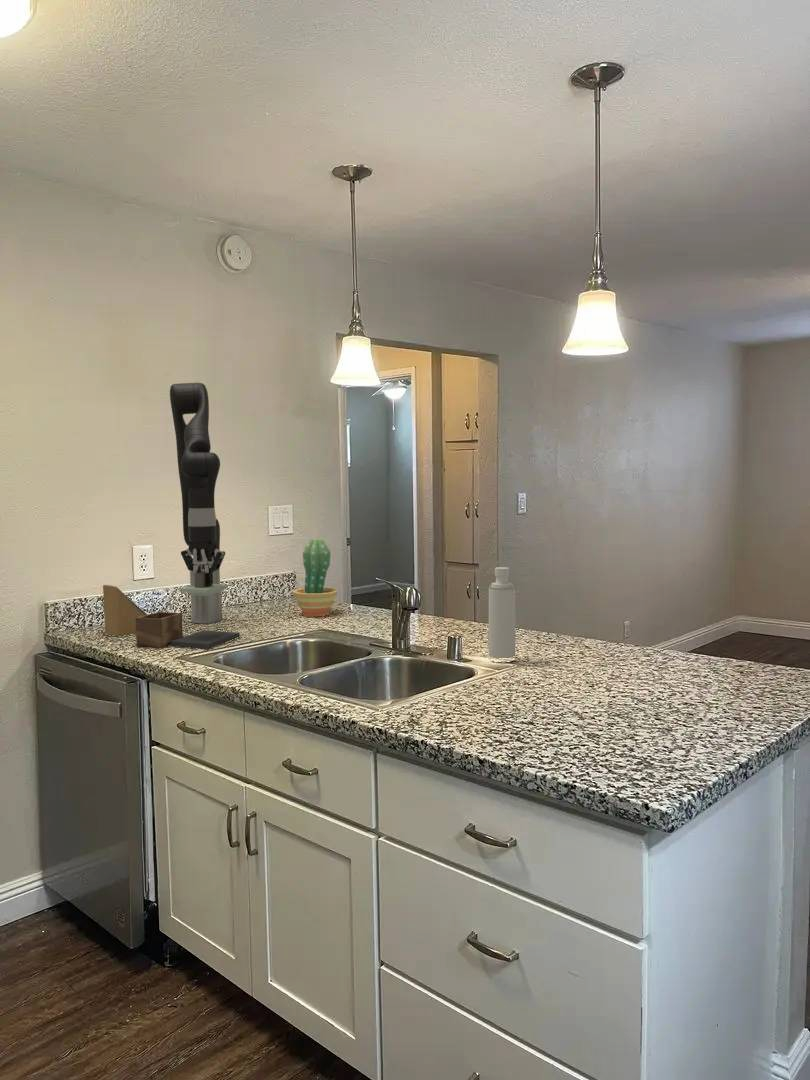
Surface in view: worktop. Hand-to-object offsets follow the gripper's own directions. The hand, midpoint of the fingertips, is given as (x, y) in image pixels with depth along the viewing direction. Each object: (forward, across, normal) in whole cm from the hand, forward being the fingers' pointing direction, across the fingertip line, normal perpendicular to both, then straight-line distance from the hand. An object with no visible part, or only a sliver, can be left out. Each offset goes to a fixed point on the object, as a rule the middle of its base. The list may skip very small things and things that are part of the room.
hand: (203, 585), depth 229 cm
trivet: (+16, 0, 0) cm, 16 cm away
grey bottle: (+16, -84, -5) cm, 86 cm away
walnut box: (+16, +11, +6) cm, 20 cm away
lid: (+1, 0, 0) cm, 1 cm away
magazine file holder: (+16, +29, -6) cm, 34 cm away
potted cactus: (+16, -10, -49) cm, 53 cm away
